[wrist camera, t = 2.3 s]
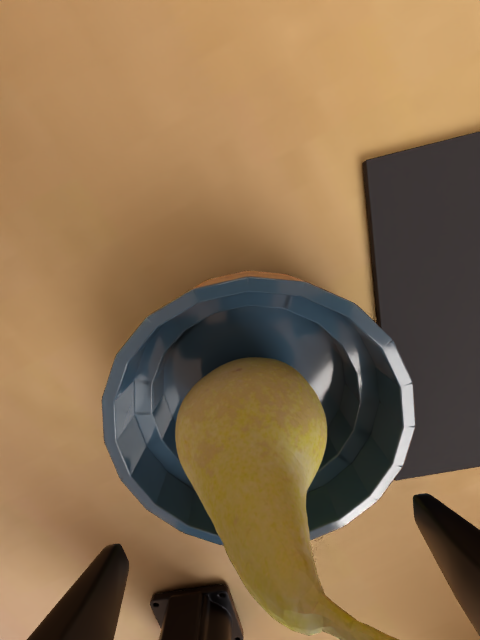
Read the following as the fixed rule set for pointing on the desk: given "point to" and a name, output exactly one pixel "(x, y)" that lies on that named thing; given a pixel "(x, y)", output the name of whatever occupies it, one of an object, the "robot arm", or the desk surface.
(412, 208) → the place mat
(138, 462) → the bowl
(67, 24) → the desk surface
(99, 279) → the desk surface
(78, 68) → the desk surface
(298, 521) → the fruit
